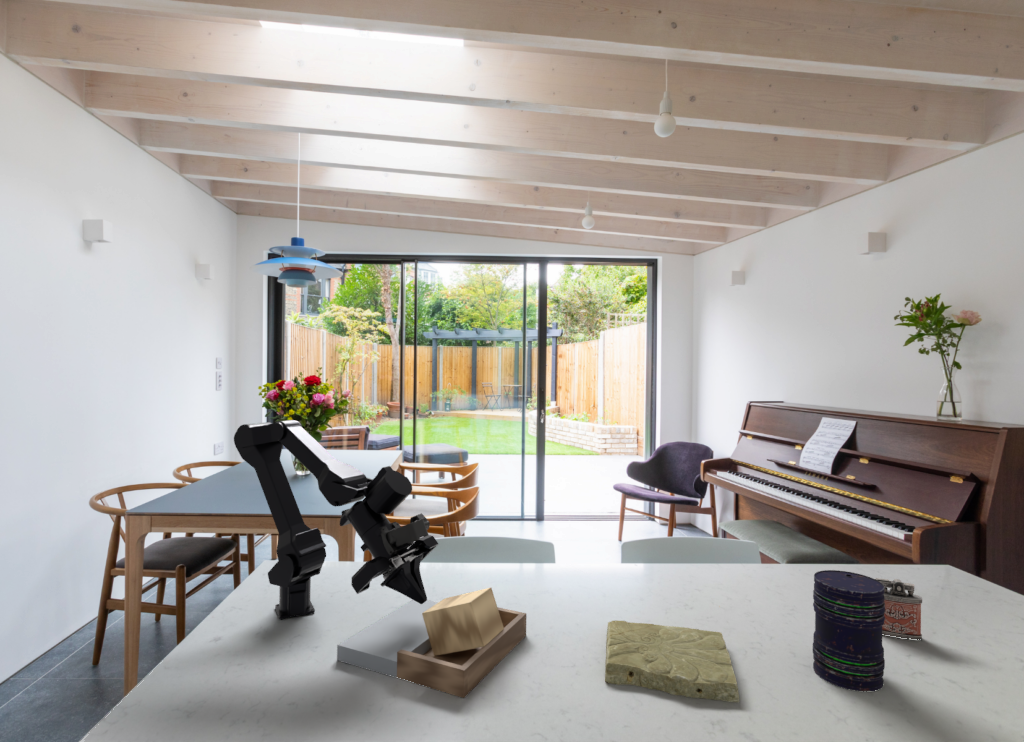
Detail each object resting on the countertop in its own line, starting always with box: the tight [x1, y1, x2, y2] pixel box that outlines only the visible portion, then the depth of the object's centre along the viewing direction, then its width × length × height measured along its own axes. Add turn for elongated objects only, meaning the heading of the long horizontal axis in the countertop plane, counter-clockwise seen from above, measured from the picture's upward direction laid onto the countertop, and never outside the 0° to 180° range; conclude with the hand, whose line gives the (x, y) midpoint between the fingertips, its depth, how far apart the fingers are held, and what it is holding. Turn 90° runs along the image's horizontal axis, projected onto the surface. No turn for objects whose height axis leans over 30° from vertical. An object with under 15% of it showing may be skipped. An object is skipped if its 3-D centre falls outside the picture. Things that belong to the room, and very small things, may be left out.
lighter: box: [874, 577, 923, 640], centre depth 104 cm, size 8×3×10 cm, turn 65°
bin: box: [397, 606, 527, 699], centre depth 95 cm, size 12×22×4 cm, turn 154°
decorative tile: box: [604, 620, 740, 703], centre depth 93 cm, size 19×20×4 cm
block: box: [422, 587, 504, 656], centre depth 95 cm, size 7×7×10 cm
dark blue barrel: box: [812, 569, 886, 693], centre depth 90 cm, size 10×10×15 cm
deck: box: [336, 599, 439, 678], centre depth 100 cm, size 12×22×2 cm, turn 154°
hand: (424, 602), depth 99 cm, fingers closed
